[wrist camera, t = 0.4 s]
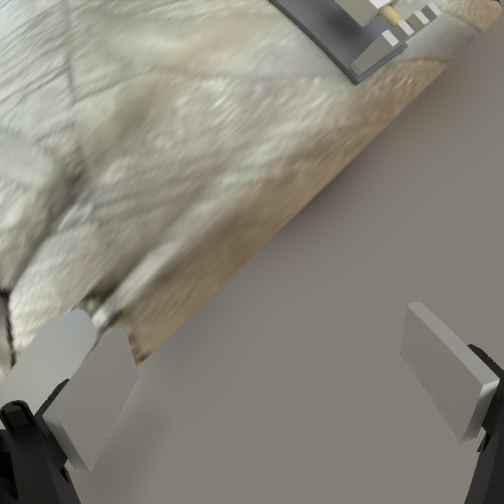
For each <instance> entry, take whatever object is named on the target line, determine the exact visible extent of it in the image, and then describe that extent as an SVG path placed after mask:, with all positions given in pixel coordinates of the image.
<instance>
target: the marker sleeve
mask: <svg viewBox="0 0 504 504" xmlns="http://www.w3.org/2000/svg"><path fill="white" fill-rule="evenodd" d="M334 1H335V2H337V3H338V4H339V5H340V6H341V7H342V8H343V9H344V10H345V11H346V12H347V13H348V14H349V15H350V16H351V17H352V18H353V19H354V20H355V21H356V22H357V23H358V24H359V25H360V26H361V27H362V28H363V27H364V26H366V25H367V24H369V23H371V22H372V21H374V20H375V19H377V18H379V17H380V16H381V15H380V14H379V13H378V12H379V11H380V10H381V9H382V8H384V7H385V6H387V5H390V6H391V7H392V8H393V7H394V6H395V5H396V4H397V3H398V1H399V0H334Z"/></svg>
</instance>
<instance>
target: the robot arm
mask: <svg viewBox="0 0 504 504" xmlns="http://www.w3.org/2000/svg"><path fill="white" fill-rule="evenodd" d="M400 354H401V355H402V357H403V358H404V360H405V361H406V363H407V364H408V365H409V367H410V368H411V370H412V371H413V373H414V374H415V375H416V377H417V379H418V380H419V381H420V383H421V384H422V386H423V387H424V389H425V390H426V392H427V393H428V395H429V396H430V398H431V399H432V401H433V402H434V404H435V405H436V407H437V408H438V410H439V411H440V413H441V414H442V416H443V417H444V419H445V420H446V422H447V424H448V425H449V427H450V428H451V430H452V432H453V433H454V435H455V436H456V438H457V439H458V441H459V443H460V444H461V443H463V442H466V441H468V440H471V439H474V438H476V437H477V435H478V433H479V431H480V428H481V426H482V427H483V428H484V429H485V431H486V434H485V436H484V438H483V440H482V442H481V444H480V446H479V448H478V450H477V452H480V454H479V458H478V462H477V466H476V469H475V472H474V476H473V479H472V482H471V485H470V488H469V491H468V494H467V497H466V500H465V503H464V504H504V371H503V370H502V369H501V368H500V367H499V366H498V365H497V364H496V363H495V362H493V360H492V359H491V358H490V357H488V355H487V354H486V353H485V352H484V351H483V350H482V349H480V348H478V347H476V346H474V345H472V344H470V345H465V344H464V343H463V342H462V341H461V340H460V339H459V338H458V337H457V336H456V335H455V334H454V333H453V332H452V331H451V330H450V329H449V328H447V326H446V325H445V324H443V323H442V322H441V321H440V320H439V319H438V318H437V317H436V316H435V315H434V314H433V313H432V312H431V311H429V310H428V309H427V308H426V307H425V306H424V305H423V304H422V303H421V302H414V303H409V304H406V307H405V318H404V327H403V336H402V344H401V352H400ZM138 377H139V374H138V371H137V368H136V365H135V361H134V358H133V355H132V351H131V348H130V344H129V341H128V337H127V334H126V330H125V328H111V329H110V330H109V332H108V333H107V334H106V335H105V336H104V338H103V339H102V340H101V341H100V342H99V344H98V345H97V346H96V347H95V349H94V350H93V351H92V352H91V354H90V355H89V356H88V357H87V359H86V360H85V361H84V362H83V364H82V365H81V366H80V367H79V369H78V370H77V371H76V372H75V374H74V375H73V376H72V377H71V379H66V380H65V381H63V382H62V383H60V384H59V385H58V386H57V387H56V388H55V389H54V391H53V392H52V394H51V395H50V396H49V397H48V400H46V401H45V402H44V403H43V405H42V406H41V407H40V409H39V410H38V411H37V412H36V414H35V415H34V416H33V414H32V412H31V410H30V409H29V407H28V405H27V403H26V402H24V401H20V400H16V401H11V402H9V403H7V404H6V405H4V406H3V407H2V408H1V410H0V419H1V421H2V423H3V424H4V426H5V428H6V430H5V429H4V430H1V429H0V504H81V503H80V501H79V498H78V496H77V493H76V491H75V488H74V486H73V484H72V481H71V478H70V475H69V473H68V471H67V469H66V467H65V466H64V465H65V463H66V461H67V459H68V460H69V461H70V463H71V464H72V466H73V467H74V468H75V469H78V470H82V471H87V472H91V471H92V469H93V467H94V465H95V463H96V461H97V458H98V456H99V454H100V452H101V450H102V448H103V446H104V444H105V442H106V440H107V438H108V436H109V434H110V432H111V430H112V427H113V426H114V424H115V422H116V420H117V418H118V416H119V414H120V412H121V410H122V408H123V406H124V404H125V402H126V400H127V398H128V396H129V394H130V392H131V390H132V388H133V386H134V384H135V382H136V381H137V379H138Z"/></svg>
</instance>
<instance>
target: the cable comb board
mask: <svg viewBox="0 0 504 504" xmlns="http://www.w3.org/2000/svg"><path fill="white" fill-rule="evenodd" d="M269 1H271V2H272V3H273V4H274V5H275V6H276V7H278V8H279V9H280V10H281V11H282V12H283V13H284V14H286V15H287V16H288V17H289V18H290V19H291V20H292V21H293V22H294V23H296V24H297V25H298V26H299V27H300V28H301V29H302V30H303V31H304V32H305V33H306V34H307V35H308V36H309V37H310V38H311V39H312V40H313V41H314V42H315V43H316V44H317V45H318V46H319V47H320V48H321V49H322V50H323V51H324V52H325V53H326V54H327V55H328V56H329V57H330V58H331V59H332V60H333V61H334V62H335V63H336V64H337V65H338V66H339V67H340V69H341V70H342V71H343V72H344V73H345V74H346V75H347V76H348V77H349V79H350V80H351V81H352V82H353V83H354V84H355V85H357V84H358V83H360V82H361V81H362V80H363V79H365V78H366V77H367V76H369V75H370V74H371V73H373V72H374V71H375V70H377V69H378V68H380V67H381V66H382V65H384V64H385V63H386V62H388V61H389V60H390V59H392V58H393V57H395V56H396V55H397V54H399V53H400V52H401V51H403V50H404V49H406V48H407V47H408V45H407V44H406V43H405V42H406V41H407V40H408V39H410V38H411V37H412V36H413V35H415V34H416V33H417V32H419V31H420V30H421V29H422V28H424V27H425V26H426V25H428V24H429V23H430V22H432V21H433V20H434V19H436V18H437V17H438V16H440V15H441V14H442V13H441V11H440V10H439V9H438V8H437V7H436V6H435V5H434V4H433V2H431V3H429V4H428V5H426V6H425V7H424V8H423V9H422V10H418V11H416V12H414V13H413V14H412V15H411V16H410V17H409V18H407V19H406V20H405V21H404V19H402V18H401V17H400V16H399V15H398V13H397V12H396V11H395V10H394V9H393V8H392V7H391V6H390V5H387V6H385V7H384V8H382V9H381V10H380V11H379V12H378V13H379V14H380V15H381V16H382V17H383V18H384V19H385V20H386V21H387V22H388V23H389V24H390V25H391V26H392V27H393V28H392V27H391V26H390V25H389V24H388V23H387V22H386V21H385V20H384V19H383V18H382V17H381V16H380V17H379V18H377V19H375V20H374V21H372V22H371V23H369V24H367V25H366V26H364V27H363V28H362V27H361V26H360V25H359V24H358V23H357V22H356V21H355V20H354V19H353V18H352V17H351V16H350V15H349V14H348V13H347V12H346V11H345V10H344V9H343V8H342V7H341V6H340V5H339V4H338V3H337V2H335V1H334V0H269Z"/></svg>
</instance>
